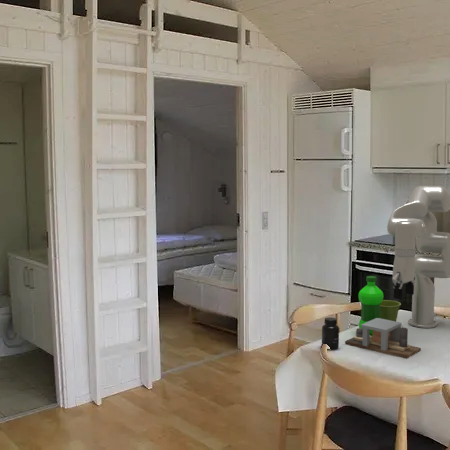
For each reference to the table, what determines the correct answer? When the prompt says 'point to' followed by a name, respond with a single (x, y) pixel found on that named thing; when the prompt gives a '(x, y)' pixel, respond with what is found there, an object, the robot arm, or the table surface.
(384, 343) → the tunnel
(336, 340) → the supplement bottle
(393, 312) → the plant pot
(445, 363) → the table surface
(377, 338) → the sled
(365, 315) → the plastic bottle
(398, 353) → the track board
